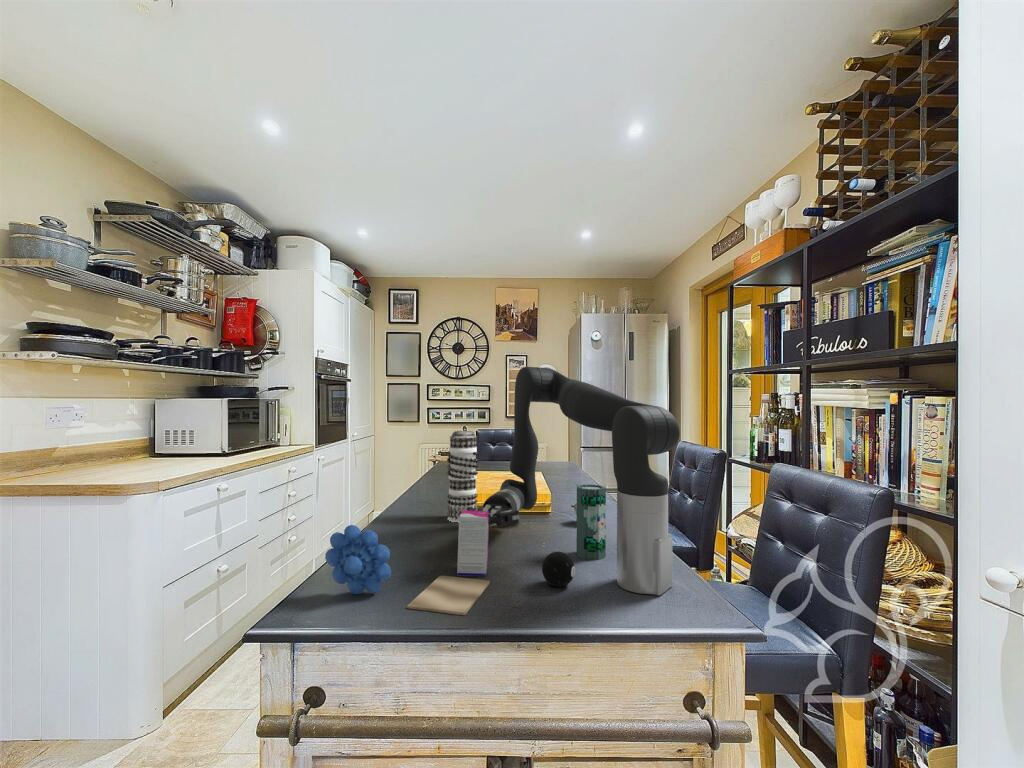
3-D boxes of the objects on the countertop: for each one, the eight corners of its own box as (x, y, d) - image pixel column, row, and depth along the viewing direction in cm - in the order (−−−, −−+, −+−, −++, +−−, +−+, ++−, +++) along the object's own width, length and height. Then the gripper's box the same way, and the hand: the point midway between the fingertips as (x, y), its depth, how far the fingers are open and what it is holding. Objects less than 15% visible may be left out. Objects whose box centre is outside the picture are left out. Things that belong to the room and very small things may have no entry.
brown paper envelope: (440, 577, 92) (440, 575, 92) (490, 582, 90) (490, 580, 90) (406, 608, 79) (407, 605, 79) (464, 615, 76) (464, 612, 76)
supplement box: (486, 576, 93) (487, 517, 93) (456, 576, 93) (457, 516, 93) (489, 566, 99) (489, 510, 99) (460, 565, 99) (460, 509, 99)
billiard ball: (549, 577, 93) (549, 545, 93) (579, 582, 90) (579, 550, 91) (536, 587, 88) (537, 554, 88) (567, 594, 85) (567, 559, 85)
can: (592, 561, 102) (592, 490, 103) (571, 554, 107) (571, 486, 107) (610, 555, 106) (610, 487, 106) (589, 549, 111) (589, 483, 111)
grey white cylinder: (466, 513, 144) (467, 429, 144) (484, 519, 137) (485, 431, 137) (439, 518, 138) (441, 431, 139) (458, 525, 131) (459, 432, 132)
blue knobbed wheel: (314, 604, 80) (315, 531, 80) (330, 588, 87) (331, 521, 87) (383, 605, 80) (385, 532, 80) (394, 589, 87) (395, 521, 87)
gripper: (476, 489, 119) (451, 504, 103) (529, 492, 116) (511, 508, 99) (476, 520, 119) (450, 540, 102) (528, 524, 116) (511, 545, 99)
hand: (480, 524), depth 101 cm, fingers closed
